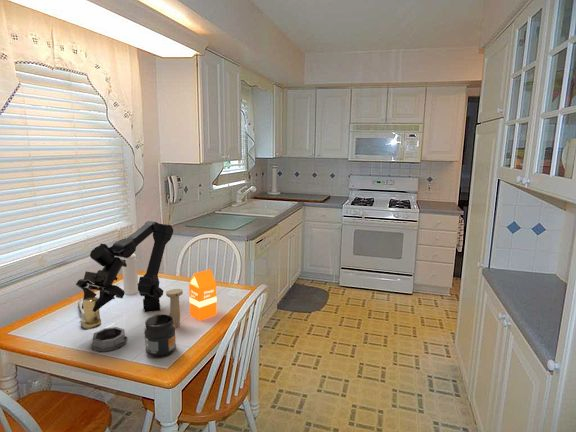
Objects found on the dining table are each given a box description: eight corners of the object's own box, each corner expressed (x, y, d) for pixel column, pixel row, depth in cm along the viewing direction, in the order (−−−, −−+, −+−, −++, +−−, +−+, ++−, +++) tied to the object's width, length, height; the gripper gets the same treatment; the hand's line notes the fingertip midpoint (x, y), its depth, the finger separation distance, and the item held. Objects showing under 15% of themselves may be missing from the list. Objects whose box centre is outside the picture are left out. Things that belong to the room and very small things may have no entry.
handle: (185, 326, 154) (184, 291, 151) (170, 330, 150) (168, 295, 147) (181, 321, 158) (179, 287, 155) (165, 325, 154) (164, 291, 151)
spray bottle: (123, 290, 189) (120, 242, 184) (138, 288, 192) (135, 241, 187) (124, 295, 183) (121, 246, 179) (138, 293, 186) (136, 244, 181)
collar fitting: (127, 333, 147) (127, 324, 146) (125, 349, 136) (125, 339, 135) (93, 338, 143) (93, 328, 142) (88, 354, 132) (88, 344, 131)
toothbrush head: (89, 296, 172) (94, 309, 151) (90, 310, 173) (95, 325, 152) (76, 298, 170) (79, 312, 148) (77, 313, 170) (80, 328, 149)
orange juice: (217, 314, 165) (216, 271, 161) (199, 321, 159) (198, 276, 155) (206, 309, 170) (205, 266, 167) (189, 315, 164) (188, 271, 160)
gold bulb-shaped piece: (100, 320, 143) (97, 295, 141) (102, 326, 138) (100, 300, 136) (83, 324, 140) (81, 298, 138) (85, 330, 135) (82, 304, 133)
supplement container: (181, 345, 139) (180, 315, 137) (166, 361, 129) (165, 328, 127) (156, 341, 142) (154, 312, 139) (139, 356, 131) (137, 324, 129)
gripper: (77, 258, 142) (53, 297, 133) (116, 265, 135) (93, 305, 127) (96, 272, 150) (75, 308, 142) (133, 278, 144) (113, 317, 136)
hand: (88, 310), depth 137 cm, fingers closed on gold bulb-shaped piece, 5 cm apart
